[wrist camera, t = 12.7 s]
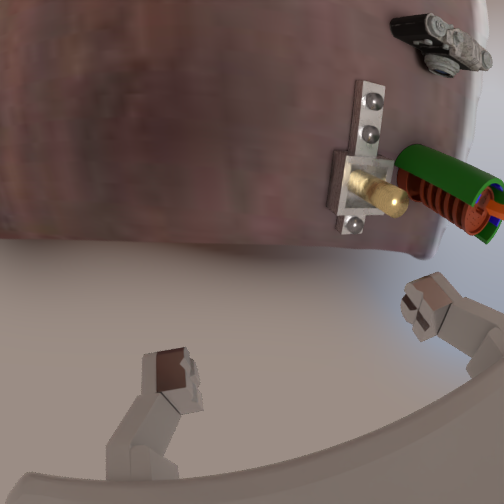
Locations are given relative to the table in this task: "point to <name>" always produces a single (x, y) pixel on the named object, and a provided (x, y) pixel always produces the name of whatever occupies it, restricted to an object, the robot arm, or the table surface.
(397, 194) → the link pin
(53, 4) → the table surface
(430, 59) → the camera
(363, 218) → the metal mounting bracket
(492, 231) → the motor
